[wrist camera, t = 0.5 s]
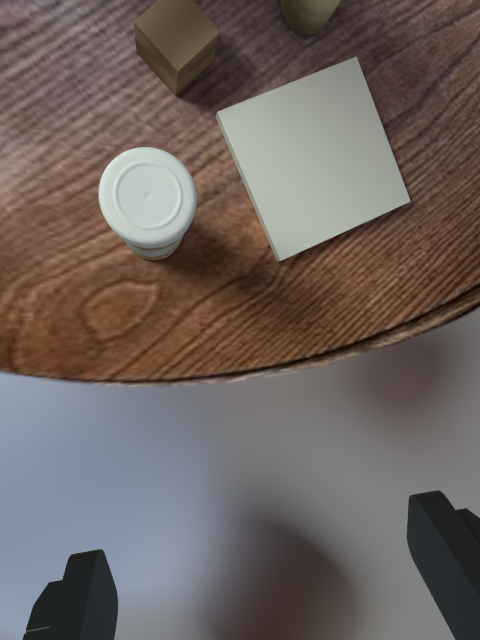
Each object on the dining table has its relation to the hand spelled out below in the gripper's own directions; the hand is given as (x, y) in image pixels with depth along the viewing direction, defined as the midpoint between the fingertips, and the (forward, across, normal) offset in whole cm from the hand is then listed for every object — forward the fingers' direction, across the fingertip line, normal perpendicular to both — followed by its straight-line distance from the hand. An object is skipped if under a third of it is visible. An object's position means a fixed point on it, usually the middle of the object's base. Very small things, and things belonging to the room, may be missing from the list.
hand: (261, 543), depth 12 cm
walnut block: (+30, 0, -15) cm, 34 cm away
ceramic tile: (+28, -10, -7) cm, 31 cm away
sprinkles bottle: (+26, +4, -3) cm, 27 cm away
